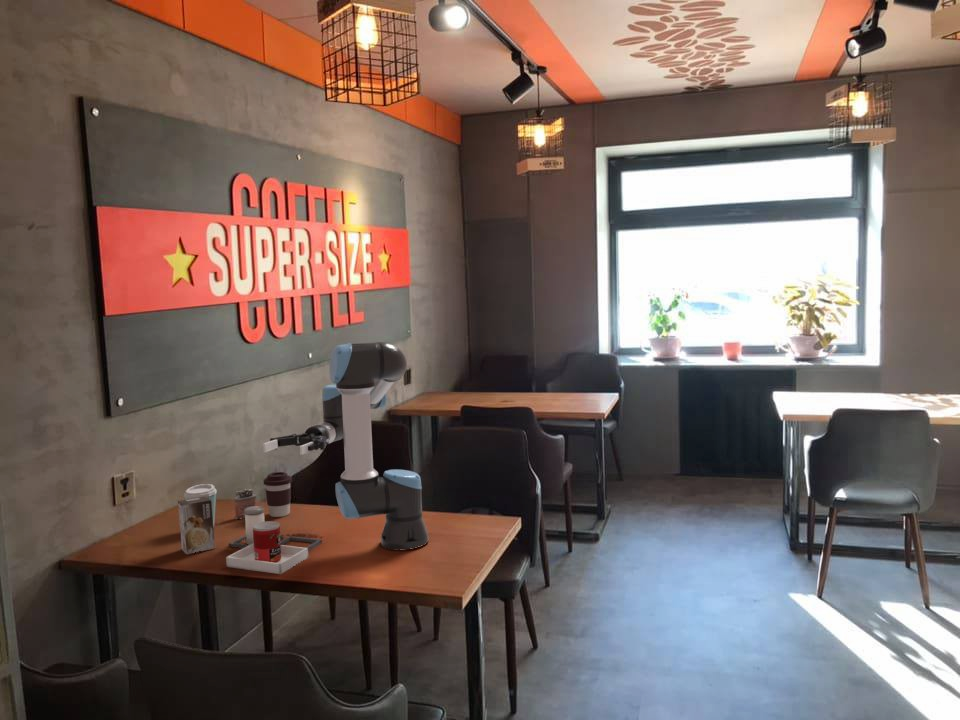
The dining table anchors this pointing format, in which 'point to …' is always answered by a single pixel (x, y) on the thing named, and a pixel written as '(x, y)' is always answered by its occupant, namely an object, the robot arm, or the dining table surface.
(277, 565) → the tray
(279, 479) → the coffee cup
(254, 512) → the salt shaker
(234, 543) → the rectangular frames
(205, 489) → the disposable coffee cup
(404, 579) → the dining table surface
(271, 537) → the canned food
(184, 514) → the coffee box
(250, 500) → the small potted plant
